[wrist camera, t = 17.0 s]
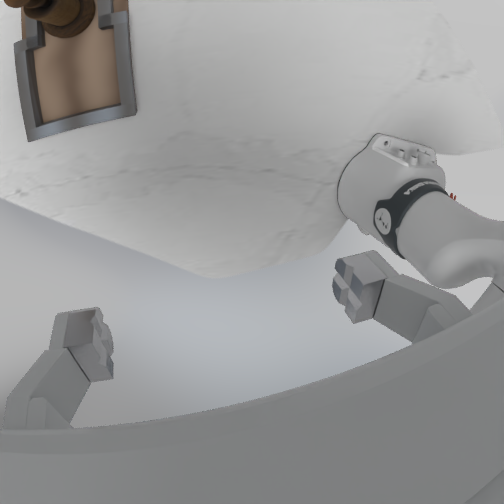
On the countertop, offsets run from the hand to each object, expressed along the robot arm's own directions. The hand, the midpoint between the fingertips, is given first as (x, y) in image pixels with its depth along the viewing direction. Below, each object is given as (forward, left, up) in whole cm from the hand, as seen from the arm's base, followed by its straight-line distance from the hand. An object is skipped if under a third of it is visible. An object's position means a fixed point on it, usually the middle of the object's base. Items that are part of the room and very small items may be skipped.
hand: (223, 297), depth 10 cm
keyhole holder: (+11, -12, -34) cm, 38 cm away
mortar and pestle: (+11, -16, -34) cm, 39 cm away
